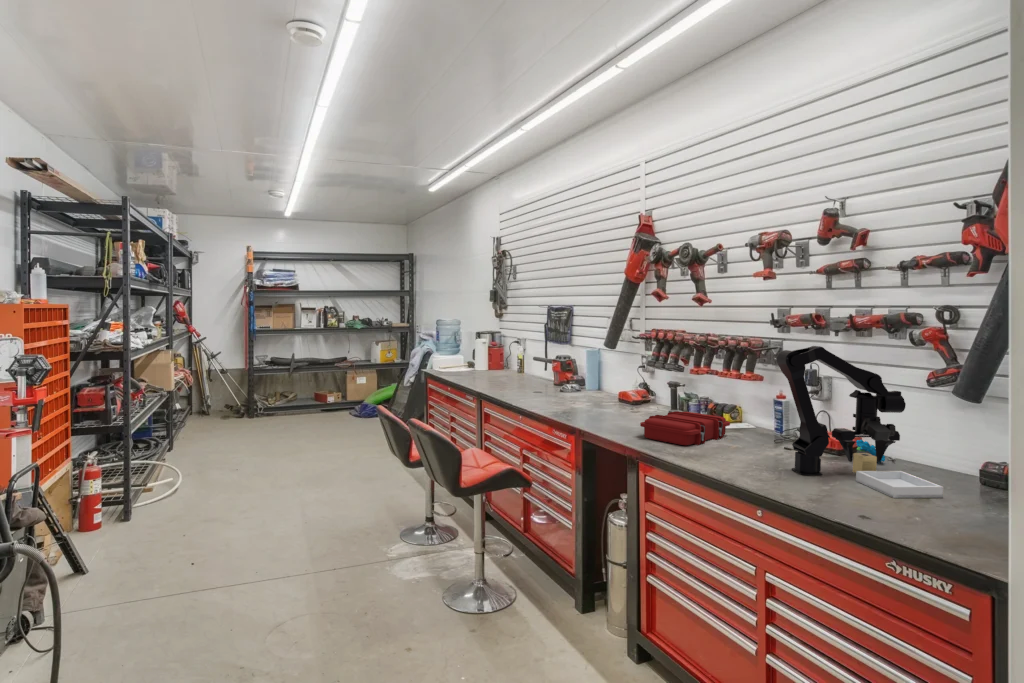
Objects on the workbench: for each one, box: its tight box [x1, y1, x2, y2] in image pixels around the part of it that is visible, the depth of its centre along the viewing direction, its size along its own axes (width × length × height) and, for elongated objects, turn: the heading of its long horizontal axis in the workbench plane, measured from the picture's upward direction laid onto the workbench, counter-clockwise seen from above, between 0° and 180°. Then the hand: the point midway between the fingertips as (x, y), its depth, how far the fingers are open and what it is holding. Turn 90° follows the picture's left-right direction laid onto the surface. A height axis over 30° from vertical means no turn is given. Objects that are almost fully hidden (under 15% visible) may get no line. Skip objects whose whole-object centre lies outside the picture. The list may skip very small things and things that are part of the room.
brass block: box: [852, 452, 878, 474], centre depth 182 cm, size 4×4×6 cm
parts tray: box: [855, 470, 944, 499], centre depth 166 cm, size 14×16×3 cm
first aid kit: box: [639, 410, 731, 446], centre depth 233 cm, size 32×23×9 cm
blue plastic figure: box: [855, 439, 886, 463], centre depth 198 cm, size 11×6×10 cm
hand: (864, 461), depth 182 cm, fingers open, 9 cm apart
